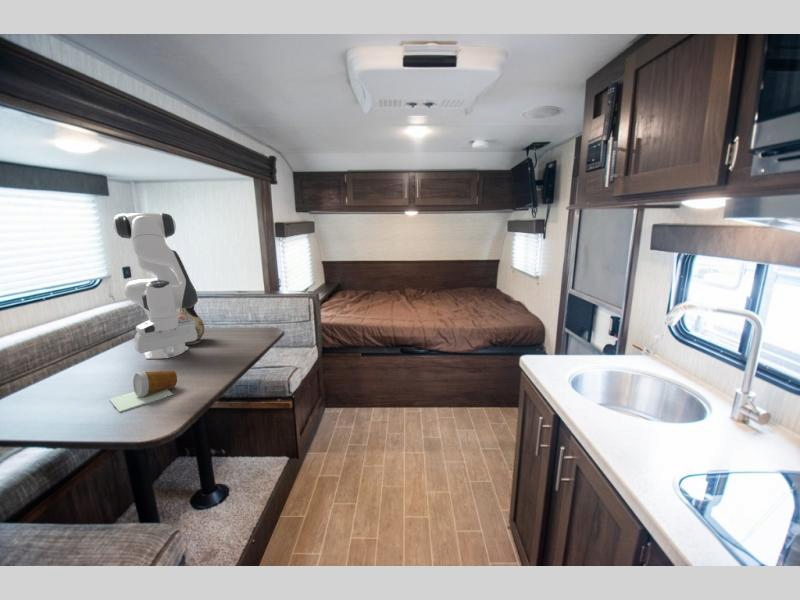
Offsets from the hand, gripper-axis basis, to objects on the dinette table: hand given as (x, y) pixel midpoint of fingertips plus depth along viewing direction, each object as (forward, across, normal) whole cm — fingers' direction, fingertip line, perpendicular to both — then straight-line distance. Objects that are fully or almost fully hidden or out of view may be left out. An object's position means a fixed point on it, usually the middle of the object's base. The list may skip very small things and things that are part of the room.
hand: (170, 356), depth 132 cm
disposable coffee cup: (+9, 0, 0) cm, 9 cm away
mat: (+13, +11, +1) cm, 17 cm away
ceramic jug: (+14, -26, -54) cm, 62 cm away
